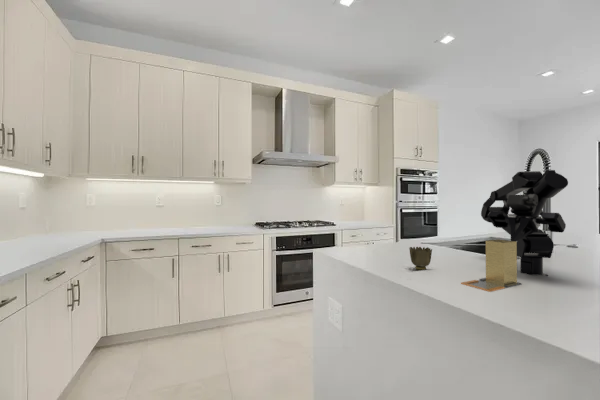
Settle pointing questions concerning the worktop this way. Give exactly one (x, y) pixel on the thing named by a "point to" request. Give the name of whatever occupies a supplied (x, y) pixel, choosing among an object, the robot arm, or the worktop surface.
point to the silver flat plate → (487, 285)
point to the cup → (420, 257)
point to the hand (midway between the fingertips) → (512, 240)
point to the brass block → (501, 262)
